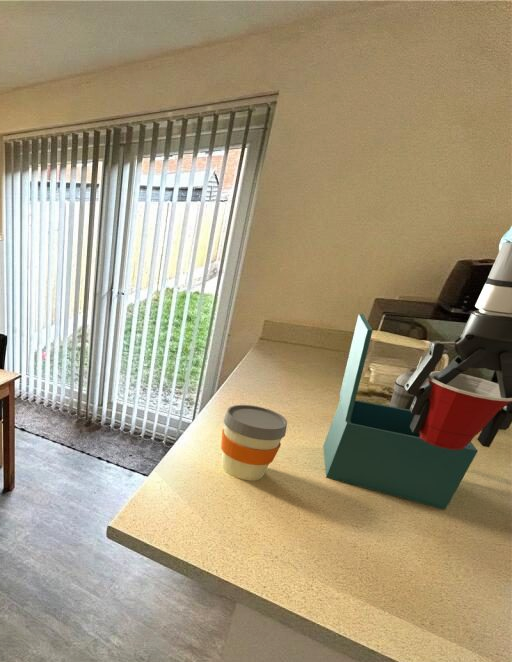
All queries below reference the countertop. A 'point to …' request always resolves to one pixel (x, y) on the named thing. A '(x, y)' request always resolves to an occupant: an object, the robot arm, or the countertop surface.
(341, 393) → the lid
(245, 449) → the reusable coffee cup
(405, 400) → the beverage cup
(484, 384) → the plastic cup
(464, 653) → the countertop surface
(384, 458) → the lidded box
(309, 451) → the countertop surface
